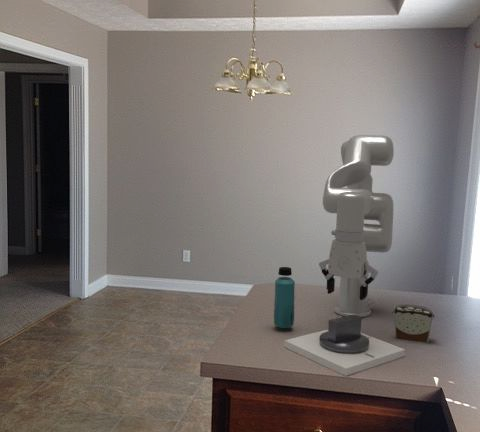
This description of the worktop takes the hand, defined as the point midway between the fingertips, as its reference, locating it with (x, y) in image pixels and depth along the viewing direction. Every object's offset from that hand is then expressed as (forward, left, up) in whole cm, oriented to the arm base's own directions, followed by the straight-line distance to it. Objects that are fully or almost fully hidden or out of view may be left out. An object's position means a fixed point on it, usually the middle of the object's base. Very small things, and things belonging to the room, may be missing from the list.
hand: (346, 295), depth 160 cm
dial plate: (0, 0, -16) cm, 16 cm away
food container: (-26, +4, -17) cm, 31 cm away
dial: (0, 0, -14) cm, 14 cm away
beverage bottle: (+2, -24, -17) cm, 29 cm away
